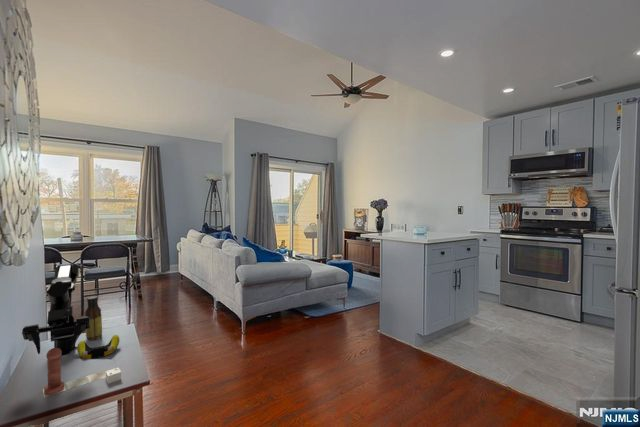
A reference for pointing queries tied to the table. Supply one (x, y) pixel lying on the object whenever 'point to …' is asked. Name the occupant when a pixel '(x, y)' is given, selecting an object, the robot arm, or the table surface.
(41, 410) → the table surface
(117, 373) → the die
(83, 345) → the gaming controller
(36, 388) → the table surface
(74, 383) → the game board
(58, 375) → the pawn
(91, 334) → the sauce bottle
